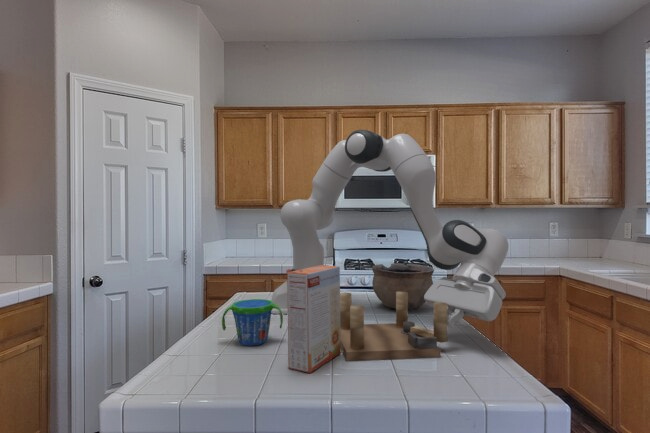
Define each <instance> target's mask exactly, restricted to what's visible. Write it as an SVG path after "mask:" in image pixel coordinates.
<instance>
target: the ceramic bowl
mask: <svg viewBox="0 0 650 433" xmlns="http://www.w3.org/2000/svg"><path fill="white" fill-rule="evenodd" d="M371 270H372V272H373V277H372V281H371V282H372V289H373V292H374V294H375V295H376V297H377V298H378V300H379V301H380V302H381V303H382V304H383V305H384V306H386V307H387V308H391V309H395V310H396V292H407V293H408V310H413V309H417V308H419V307H421V306H422V305H424V303H425V304H426V301H425V300H424V295H425V293H426V292H427V291H428V289H429V288H430V287H431V286H432V285H433V283H434V281H433V280H434V279H433V274H434V272H435V268H433V267H431V266H427V265H421V264H416V263H407V264H406V265H405V264H404V263H399V262H397V263H391V264H390V266H389V267H387V266H385V265H384V264H382V263H380V264H374V265H373V266H371Z"/></svg>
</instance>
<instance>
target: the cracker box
mask: <svg viewBox="0 0 650 433" xmlns="http://www.w3.org/2000/svg"><path fill="white" fill-rule="evenodd" d="M340 269H341V268H340V265H330V264H329V265H327V264H324V265H320V266H315V267H310V268H305V269H301V270H296V271H291V272H288V273H286V276H287V277H286V278H287V279H286V281H287V296H288V314H287V353H288V355H287V356H288V360H287V362H288V365H287V366H288V369H291V370H295V371H297V372H298V371H300V372H303V373H308V374H311V373H312V372H314V371H316V370H317V369H319V368H320V367H321V366H323V365H324V364H326V363H327V362H329V361H330V360H332V359H334V358H335V357H337V356H338V355H340V354H341V352H342V350H341V332H340V293H341V278H340V277H341V276H340V274H341V271H340Z"/></svg>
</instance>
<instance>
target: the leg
mask: <svg viewBox="0 0 650 433" xmlns="http://www.w3.org/2000/svg"><path fill="white" fill-rule="evenodd" d="M403 331H405V332H413V333H414V334H418V335H421V336H424V337H436V338H437V343H448V326H447V303H443V302H435V303H434V307H433V330H431V329H427V328H424V327H421V326H417V325H416V323H415V322H413V321H409V320H408V321H407V322H403Z"/></svg>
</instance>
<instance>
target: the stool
mask: <svg viewBox="0 0 650 433" xmlns="http://www.w3.org/2000/svg"><path fill="white" fill-rule="evenodd" d="M408 310H409V309H408V293H407V292H396V309H395V315H396V316H395V323H393V322H392V323H367V324H366V323H365V307H364V306H363V305H359V304H358V305H352V293H351V292H340V332H341V352H342V354H343V356H344V358H345V361H346V362H355V361H356V362H357V361H359V362H361V361H379V360H380V361H381V360H384V361H385V360H405V359H427V358H429V359H430V358H432V359H433V358H441V347H439V346H438V342H437V338H436V337H424V336H421V335H418V334H414V333H413V332H405V331H403V322H407V321H409V318H408V315H409V312H408Z"/></svg>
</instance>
